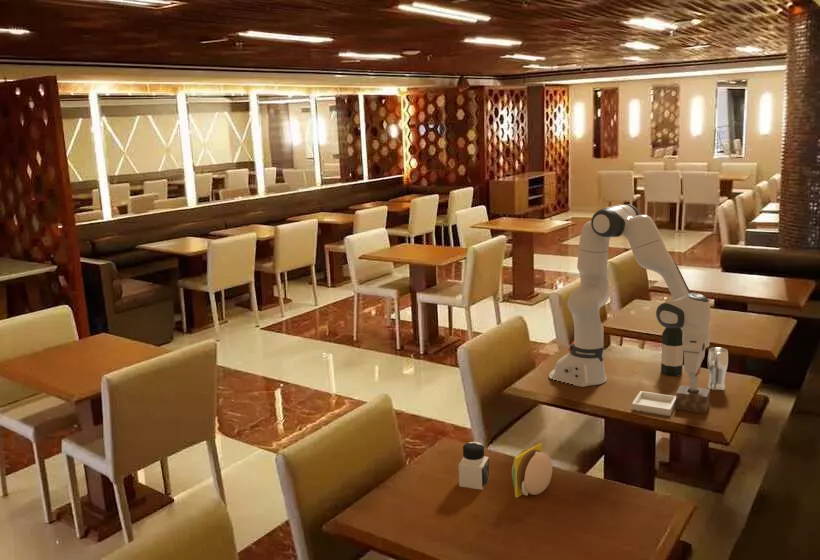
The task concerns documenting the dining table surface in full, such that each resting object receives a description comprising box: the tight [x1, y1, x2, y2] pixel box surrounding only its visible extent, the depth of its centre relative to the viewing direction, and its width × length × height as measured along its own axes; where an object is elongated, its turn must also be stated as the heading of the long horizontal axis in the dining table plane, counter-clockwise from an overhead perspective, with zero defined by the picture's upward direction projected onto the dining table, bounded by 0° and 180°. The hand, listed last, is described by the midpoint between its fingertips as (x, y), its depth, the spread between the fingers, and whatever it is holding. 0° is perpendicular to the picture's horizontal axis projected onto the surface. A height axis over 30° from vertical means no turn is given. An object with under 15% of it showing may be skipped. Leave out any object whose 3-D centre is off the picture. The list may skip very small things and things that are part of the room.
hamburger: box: [511, 442, 553, 498], centre depth 200 cm, size 12×8×12 cm
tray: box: [631, 390, 676, 417], centre depth 254 cm, size 13×13×2 cm
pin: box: [689, 368, 701, 393], centre depth 251 cm, size 4×4×14 cm
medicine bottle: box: [458, 441, 490, 491], centre depth 206 cm, size 7×7×12 cm
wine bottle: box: [660, 327, 684, 377], centre depth 283 cm, size 8×8×30 cm
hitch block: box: [675, 384, 711, 414], centre depth 252 cm, size 10×8×6 cm
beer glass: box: [707, 346, 729, 391], centre depth 267 cm, size 7×7×15 cm
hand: (694, 377), depth 250 cm, fingers open, 8 cm apart
